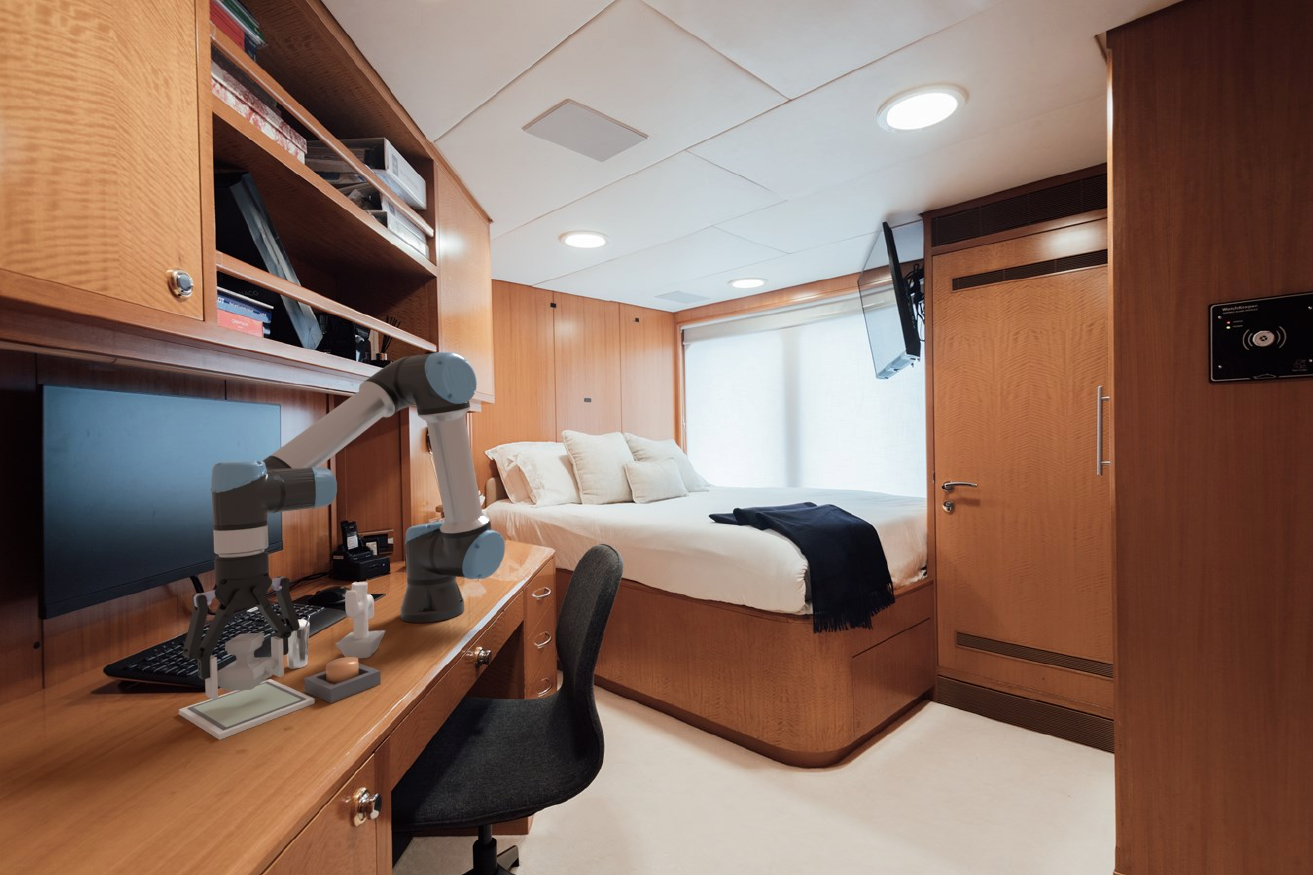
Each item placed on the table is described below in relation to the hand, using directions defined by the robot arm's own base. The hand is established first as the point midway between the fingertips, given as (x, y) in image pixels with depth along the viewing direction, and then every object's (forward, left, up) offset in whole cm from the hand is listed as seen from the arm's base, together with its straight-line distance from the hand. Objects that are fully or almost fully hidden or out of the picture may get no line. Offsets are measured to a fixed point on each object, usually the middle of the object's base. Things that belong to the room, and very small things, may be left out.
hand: (246, 685), depth 101 cm
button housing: (-13, +6, -4) cm, 15 cm away
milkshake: (-14, -12, -4) cm, 19 cm away
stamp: (0, 0, 0) cm, 0 cm away
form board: (0, 0, -4) cm, 4 cm away
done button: (-13, +6, -2) cm, 15 cm away
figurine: (-24, -7, -4) cm, 25 cm away
